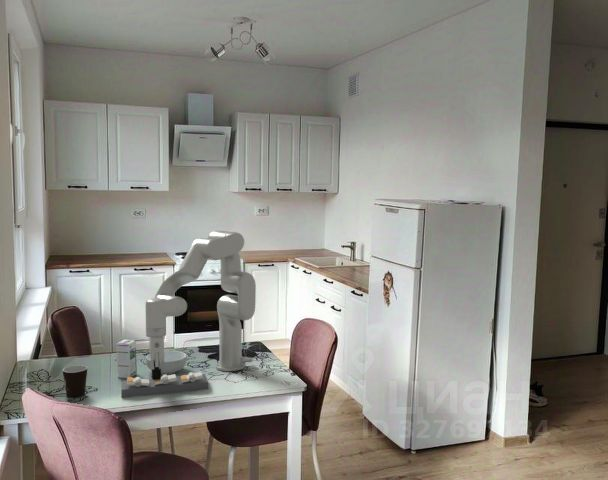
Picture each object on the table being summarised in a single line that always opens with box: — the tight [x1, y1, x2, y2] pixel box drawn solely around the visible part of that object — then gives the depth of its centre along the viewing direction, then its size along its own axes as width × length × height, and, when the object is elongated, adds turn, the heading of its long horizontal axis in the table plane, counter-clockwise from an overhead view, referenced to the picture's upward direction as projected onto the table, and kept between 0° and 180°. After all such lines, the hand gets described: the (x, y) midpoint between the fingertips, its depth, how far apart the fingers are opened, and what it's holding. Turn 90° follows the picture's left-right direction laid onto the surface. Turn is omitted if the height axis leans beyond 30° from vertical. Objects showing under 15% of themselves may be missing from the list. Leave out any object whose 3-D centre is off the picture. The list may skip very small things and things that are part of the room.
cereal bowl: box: [145, 350, 188, 376], centre depth 240 cm, size 17×17×7 cm
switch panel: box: [120, 373, 209, 399], centre depth 220 cm, size 32×10×3 cm, turn 107°
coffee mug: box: [62, 364, 88, 399], centre depth 214 cm, size 12×9×10 cm
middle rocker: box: [154, 373, 177, 385], centre depth 217 cm, size 8×4×2 cm, turn 107°
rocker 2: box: [180, 371, 203, 383], centre depth 220 cm, size 8×4×2 cm, turn 107°
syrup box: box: [115, 339, 138, 379], centre depth 234 cm, size 6×6×14 cm
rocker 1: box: [126, 376, 150, 387], centre depth 215 cm, size 8×4×2 cm, turn 107°
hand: (156, 378), depth 216 cm, fingers closed
